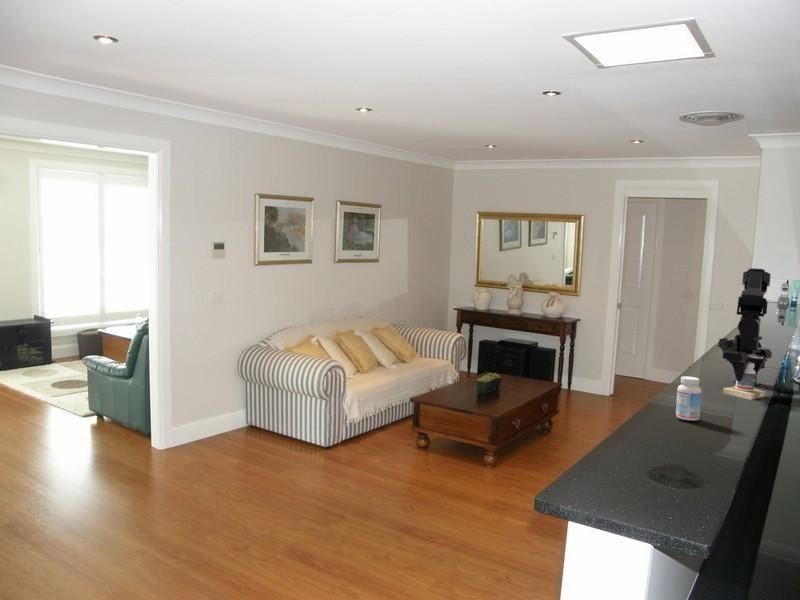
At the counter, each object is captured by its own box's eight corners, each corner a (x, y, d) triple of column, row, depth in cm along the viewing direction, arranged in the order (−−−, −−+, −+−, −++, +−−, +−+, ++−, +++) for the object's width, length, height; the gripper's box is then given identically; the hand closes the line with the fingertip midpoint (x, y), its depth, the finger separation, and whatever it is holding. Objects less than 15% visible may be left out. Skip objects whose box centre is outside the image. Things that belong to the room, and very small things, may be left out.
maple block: (736, 393, 213) (737, 385, 213) (764, 399, 205) (765, 391, 205) (722, 395, 208) (723, 388, 207) (750, 402, 200) (751, 394, 200)
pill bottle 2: (755, 392, 203) (759, 365, 202) (738, 390, 204) (741, 363, 203) (750, 388, 208) (753, 362, 207) (733, 386, 209) (736, 360, 208)
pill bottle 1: (698, 416, 177) (701, 377, 176) (700, 422, 171) (703, 381, 171) (674, 414, 179) (677, 374, 178) (676, 419, 173) (679, 378, 172)
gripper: (740, 328, 216) (736, 373, 218) (708, 330, 206) (704, 377, 208) (774, 332, 207) (770, 379, 208) (742, 335, 197) (738, 384, 198)
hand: (745, 380), depth 206 cm, fingers open, 7 cm apart
